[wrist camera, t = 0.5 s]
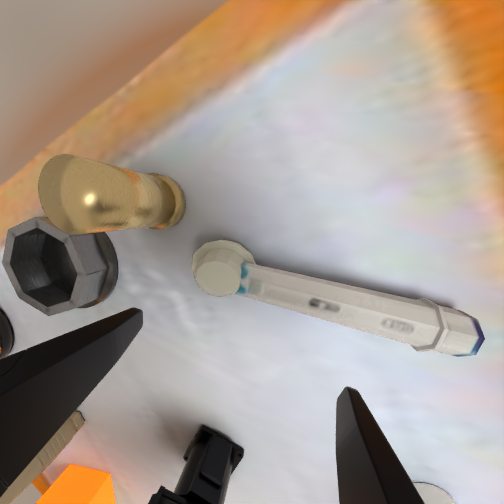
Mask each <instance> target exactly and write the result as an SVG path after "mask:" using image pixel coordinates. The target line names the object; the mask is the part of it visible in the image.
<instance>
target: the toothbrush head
mask: <svg viewBox="0 0 504 504" xmlns="http://www.w3.org/2000/svg"><path fill="white" fill-rule="evenodd" d="M191 269H192V271H193V273H194V277H195V279H196V281H197V283H198V285H199V287H200V288H201V289H202V290H203V291H205V292H206V293H207V294H209V295H214V296H218V297H222V296H228V295H233V294H238V295H241V296H245V297H248V298H252V299H255V300H259V301H262V302H265V303H269V304H272V305H276V306H279V307H283V308H286V309H289V310H293V311H296V312H300V313H303V314H307V315H310V316H313V317H317V318H320V319H324V320H327V321H331V322H334V323H337V324H341V325H344V326H348V327H351V328H355V329H358V330H361V331H365V332H368V333H372V334H375V335H379V336H382V337H385V338H389V339H392V340H396V341H399V342H403V343H406V344H409V345H411V346H412V347H413V348H414V349H415V350H416V351H419V352H424V351H431V350H432V351H437V352H441V353H445V354H449V355H453V356H457V357H460V356H470V355H476V354H477V352H478V350H479V348H480V347H481V345H482V343H483V341H484V340H485V338H484V335H483V332H482V330H481V327H480V324H479V321H478V320H477V319H476V318H474V317H472V316H470V315H468V314H466V313H464V312H462V311H460V310H456V309H452V308H448V307H444V306H440V305H437V304H435V303H434V302H432V301H430V300H428V299H427V298H424V297H422V298H419V299H417V300H414V299H410V298H405V297H401V296H396V295H392V294H387V293H383V292H378V291H374V290H369V289H365V288H360V287H355V286H351V285H346V284H342V283H337V282H333V281H328V280H324V279H319V278H315V277H310V276H306V275H301V274H297V273H292V272H287V271H283V270H278V269H274V268H269V267H265V266H260V265H256V263H255V261H254V258H253V256H252V254H251V253H250V252H249V251H248V250H246V249H245V248H244V247H243V246H241V245H240V244H239V243H237V242H233V241H229V240H217V241H212V242H207V243H205V244H204V245H203V246H202V247H200V248H199V249H198V250H197V251H196V252H195V253H194V254H193V259H192V265H191Z"/></svg>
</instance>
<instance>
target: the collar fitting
mask: <svg viewBox="0 0 504 504" xmlns="http://www.w3.org/2000/svg"><path fill="white" fill-rule="evenodd" d="M2 264H3V266H4V268H5V270H6V272H7V274H8V276H9V279H10V281H11V283H12V285H13V287H14V289H15V291H16V293H17V295H18V297H19V298H20V299H22V300H23V301H25V302H26V303H28V304H30V305H31V306H33V307H35V308H36V309H38V310H39V311H41V312H43V313H44V314H46V315H48V316H51V315H54V314H58V313H61V312H64V311H68V310H71V309H75V308H88V307H91V306H94V305H96V304H98V303H100V302H102V301H104V300H105V299H106V298H107V297H108V296H109V295H110V294H111V293H112V291H113V289H114V287H115V285H116V282H117V277H118V261H117V256H116V253H115V250H114V247H113V245H112V243H111V241H110V239H109V238H108V236H107V235H106V233H105V232H96V233H86V234H70V233H67V232H64V231H62V230H61V229H59V228H58V227H57V226H55V225H54V224H53V223H52V222H51V221H50V219H49V218H48V217H34V218H32V219H30V220H28V221H26V222H23V223H21V224H19V225H17V226H14V227H12V228H10V229H9V230H8V233H7V238H6V244H5V249H4V255H3V261H2Z"/></svg>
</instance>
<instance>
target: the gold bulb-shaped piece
mask: <svg viewBox="0 0 504 504" xmlns="http://www.w3.org/2000/svg"><path fill="white" fill-rule="evenodd" d="M38 191H39V198H40V202H41V205H42V208H43V210H44V212H45V214H46V215H47V217H48V218H49V219H50V221H51V222H52V223H53V224H54V225H55V226H57V227H58V228H59V229H61V230H62V231H64V232H67V233H70V234H86V233H96V232H106V231H115V230H125V229H135V228H144V227H148V228H151V229H162V228H169V227H172V226H174V225H176V224H177V223H178V222H179V221H180V220H181V219H182V217H183V215H184V212H185V208H186V200H185V196H184V193H183V190H182V189H181V187H180V186H179V184H178V183H177V182H175V181H174V180H173V179H171V178H169V177H166V176H162V175H159V174H154V173H150V174H143V173H139V172H135V171H131V170H128V169H124V168H120V167H116V166H112V165H108V164H105V163H101V162H97V161H93V160H89V159H85V158H82V157H78V156H74V155H69V154H61V155H57V156H55V157H53V158H52V159H50V160H49V161H48V162H47V163H46V164H45V165H44V167H43V169H42V171H41V174H40V177H39V183H38Z"/></svg>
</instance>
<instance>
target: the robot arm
mask: <svg viewBox="0 0 504 504" xmlns="http://www.w3.org/2000/svg"><path fill="white" fill-rule="evenodd" d="M142 325H143V312H142V310H140V309H137V308H130V309H127V310H125V311H122V312H120V313H117V314H115V315H112V316H110V317H107V318H104V319H102V320H99V321H97V322H94V323H92V324H89V325H87V326H84V327H82V328H79V329H76V330H74V331H71V332H69V333H66V334H64V335H61V336H59V337H56V338H53V339H51V340H48V341H46V342H43V343H41V344H38V345H36V346H33V347H30V348H28V349H27V350H23V351H20V352H18V353H15V354H12V355H10V356H7V357H5V358H2V359H0V497H1V496H2V495H3V494H4V493H5V492H6V490H7V489H8V487H10V486H11V484H12V483H13V482H14V481H15V480H16V479H17V477H18V476H19V475H20V474H21V473H22V472H23V470H24V469H25V468H26V467H27V466H28V465H29V464H30V462H31V461H32V460H33V459H34V458H35V457H36V455H37V454H38V453H39V452H40V451H41V450H42V448H43V447H44V446H45V445H46V444H47V443H48V441H49V440H50V439H51V438H52V437H53V436H54V434H55V433H56V432H57V431H58V430H59V429H60V427H61V426H62V425H63V424H64V423H65V422H66V421H67V419H68V418H69V417H70V416H71V415H72V414H73V412H74V411H75V410H76V409H77V408H78V407H79V405H80V404H81V403H82V402H83V401H84V400H85V398H86V397H87V396H88V395H89V394H90V393H91V391H92V390H93V389H94V388H95V387H96V386H97V385H98V383H99V382H100V381H101V380H102V379H103V378H104V376H105V375H106V374H107V373H108V372H109V371H110V369H111V368H112V367H113V366H114V365H115V364H116V362H117V361H118V360H119V359H120V357H121V356H122V355H123V353H124V352H125V350H126V349H127V348H128V346H129V345H130V343H131V342H132V341H133V339H134V338H135V336H136V335H137V334H138V332H139V331H140V329H141V328H142ZM243 455H244V451H243V450H242V449H241V448H239V447H238V446H236V445H234V444H233V443H231V442H230V441H228V440H226V439H225V438H223V437H222V436H220V435H218V434H217V433H215V432H213V431H212V430H210V429H209V428H207V427H205V426H201V427H200V428H199V430H198V432H197V433H196V435H195V437H194V439H193V440H192V442H191V444H190V446H189V447H188V449H187V451H186V452H185V455H184V457H183V458H184V460H185V461H187V462H186V465H185V467H184V469H183V472H182V474H181V476H180V479H179V481H178V484H177V486H176V488H175V491H174V493H173V492H171V491H169V490H167V489H165V488H166V487H164V486H162V485H161V487H160V488H159V490H158V492H157V493H156V494H153V495H152V497H151V499H150V501H149V503H148V504H224V501H225V496H226V492H227V488H228V483H229V479H230V475H231V474H232V472H233V471H234V470H235V468H236V467H237V465H238V464H239V462H240V461H241V459H242V458H243ZM336 462H337V475H338V489H339V502H340V504H425V503H424V501H423V499H422V498H421V496H420V494H419V493H418V491H417V489H416V488H415V486H414V484H413V483H412V481H411V479H410V478H409V476H408V474H407V473H406V471H405V469H404V467H403V466H402V464H401V462H400V461H399V459H398V457H397V456H396V454H395V452H394V451H393V449H392V447H391V446H390V444H389V442H388V441H387V439H386V437H385V435H384V434H383V432H382V430H381V429H380V427H379V425H378V424H377V422H376V420H375V419H374V417H373V415H372V414H371V412H370V410H369V408H368V407H367V405H366V403H365V402H364V400H363V398H362V397H361V395H360V393H359V392H358V391H357V390H356V389H353V388H351V387H345V388H344V390H343V391H342V392H341V394H340V395H339V397H338V399H337V407H336Z"/></svg>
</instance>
